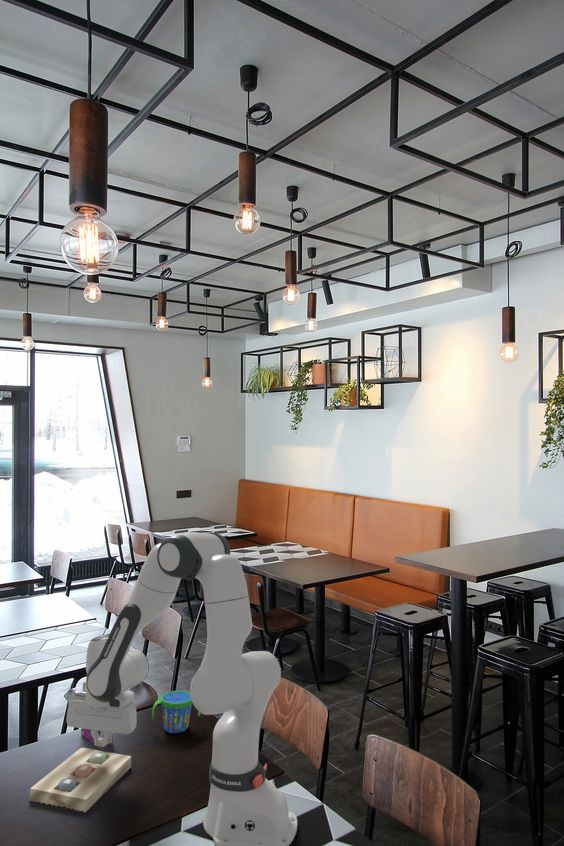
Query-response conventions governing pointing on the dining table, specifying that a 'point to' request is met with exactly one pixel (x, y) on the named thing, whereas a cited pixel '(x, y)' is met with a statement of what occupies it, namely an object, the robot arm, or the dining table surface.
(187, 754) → the dining table surface
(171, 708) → the snack cup
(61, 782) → the slate button
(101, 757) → the sage button
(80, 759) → the button board
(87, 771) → the pink rounded knob
